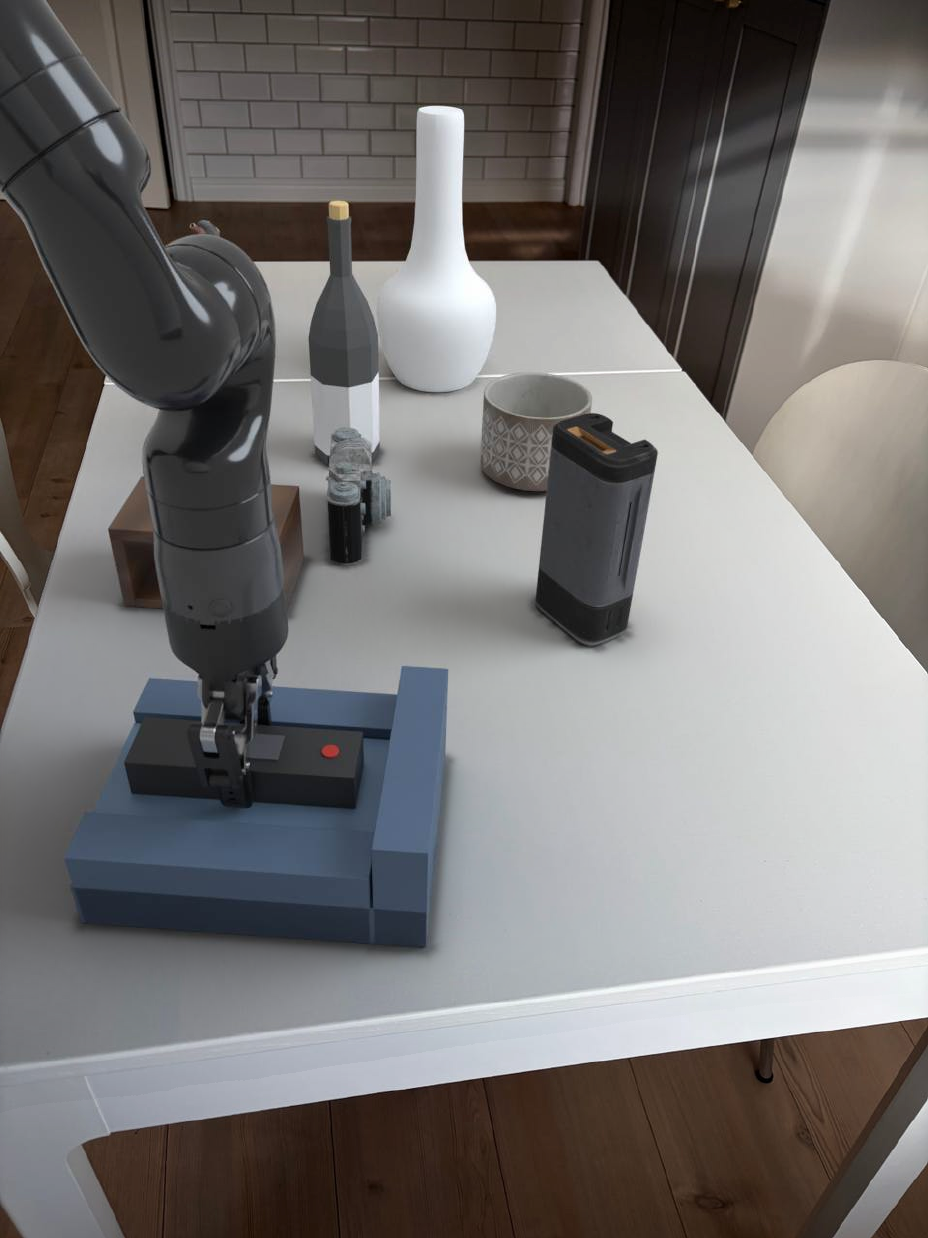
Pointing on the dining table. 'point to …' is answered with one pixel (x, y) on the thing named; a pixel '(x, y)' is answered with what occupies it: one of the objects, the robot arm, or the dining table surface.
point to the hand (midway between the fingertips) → (248, 770)
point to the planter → (526, 425)
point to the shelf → (137, 544)
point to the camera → (353, 495)
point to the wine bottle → (343, 348)
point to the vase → (437, 273)
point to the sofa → (279, 831)
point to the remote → (253, 764)
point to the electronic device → (593, 527)
